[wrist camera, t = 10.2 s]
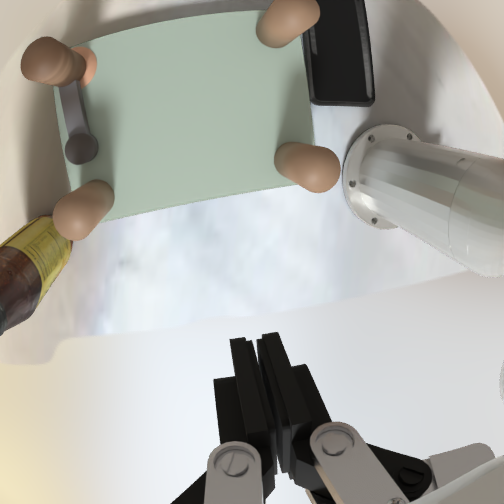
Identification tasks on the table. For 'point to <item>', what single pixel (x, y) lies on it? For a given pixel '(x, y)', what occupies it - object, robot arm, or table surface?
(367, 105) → the phone
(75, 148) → the folding leg
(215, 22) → the stool seat
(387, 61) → the table surface
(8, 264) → the sauce bottle
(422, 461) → the robot arm
